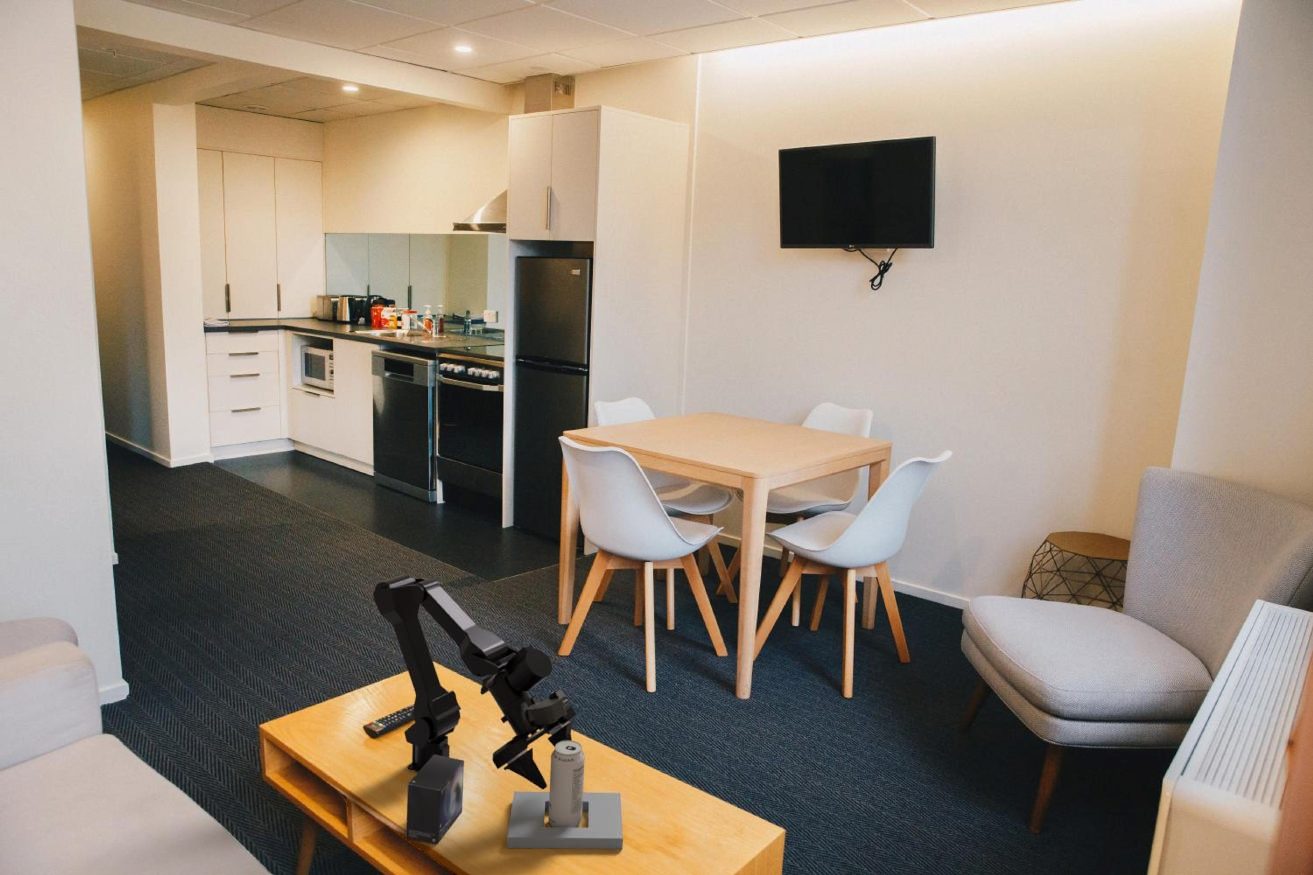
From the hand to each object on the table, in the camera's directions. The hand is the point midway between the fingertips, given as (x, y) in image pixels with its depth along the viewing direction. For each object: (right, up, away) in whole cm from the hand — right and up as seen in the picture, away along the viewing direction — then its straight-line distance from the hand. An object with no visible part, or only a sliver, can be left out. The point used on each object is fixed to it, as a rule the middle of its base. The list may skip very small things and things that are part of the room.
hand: (560, 776), depth 158 cm
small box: (-22, -8, -2) cm, 24 cm away
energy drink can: (+1, -9, +1) cm, 9 cm away
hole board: (+1, -9, +1) cm, 9 cm away
